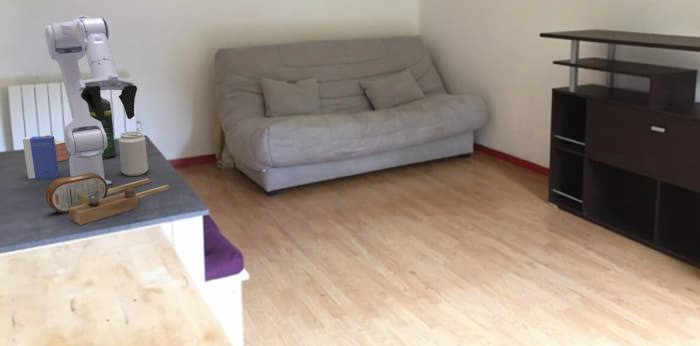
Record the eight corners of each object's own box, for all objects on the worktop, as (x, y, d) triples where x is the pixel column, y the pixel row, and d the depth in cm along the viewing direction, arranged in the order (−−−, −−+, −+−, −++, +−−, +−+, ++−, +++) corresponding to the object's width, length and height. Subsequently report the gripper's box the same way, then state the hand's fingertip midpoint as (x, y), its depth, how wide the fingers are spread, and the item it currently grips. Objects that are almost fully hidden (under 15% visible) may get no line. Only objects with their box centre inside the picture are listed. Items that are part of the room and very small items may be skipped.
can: (140, 177, 200) (137, 137, 196) (116, 176, 201) (112, 135, 198) (153, 170, 207) (149, 130, 203) (129, 168, 208) (125, 129, 205)
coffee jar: (118, 157, 220) (112, 99, 214) (92, 161, 216) (85, 102, 210) (113, 150, 228) (107, 94, 222) (87, 153, 224) (80, 96, 219)
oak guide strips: (99, 195, 185) (99, 191, 185) (147, 181, 196) (147, 178, 196) (120, 203, 179) (120, 199, 179) (169, 189, 190) (169, 185, 190)
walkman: (59, 174, 203) (53, 134, 199) (56, 177, 200) (50, 137, 196) (31, 175, 202) (25, 135, 198) (27, 178, 199) (21, 137, 196)
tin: (105, 199, 182) (102, 169, 179) (111, 202, 180) (107, 171, 177) (47, 213, 172) (42, 181, 170) (52, 217, 170) (47, 184, 167)
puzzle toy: (58, 156, 221) (56, 139, 220) (69, 159, 218) (67, 141, 216) (42, 160, 217) (39, 143, 215) (52, 163, 214) (50, 145, 212)
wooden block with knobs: (69, 220, 168) (67, 200, 166) (128, 202, 180) (126, 184, 178) (80, 225, 165) (78, 205, 163) (139, 207, 176) (137, 188, 175)
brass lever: (100, 204, 169) (99, 196, 168) (92, 207, 167) (91, 198, 167) (85, 198, 173) (84, 190, 173) (76, 200, 172) (75, 192, 171)
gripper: (80, 56, 158) (95, 111, 155) (137, 58, 169) (152, 110, 166) (67, 70, 162) (81, 123, 160) (123, 71, 173) (137, 121, 171)
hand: (116, 117), depth 163 cm, fingers open, 7 cm apart
